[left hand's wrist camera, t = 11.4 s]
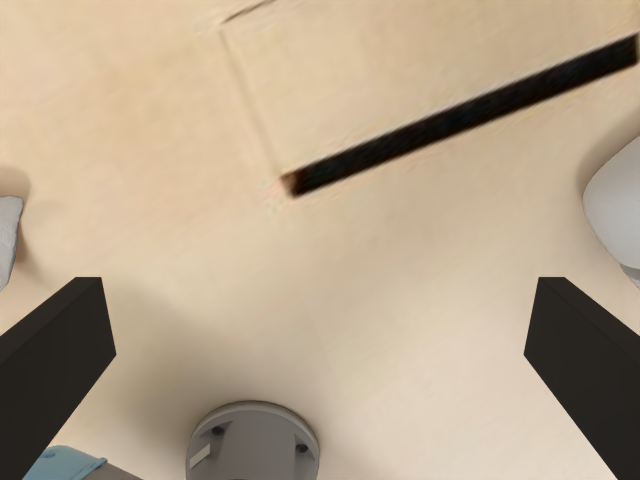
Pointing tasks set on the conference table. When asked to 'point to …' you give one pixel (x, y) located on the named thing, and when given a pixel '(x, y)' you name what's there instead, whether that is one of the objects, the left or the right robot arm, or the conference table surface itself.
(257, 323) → the conference table surface
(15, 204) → the red white irregular piece
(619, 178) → the projector
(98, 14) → the conference table surface
